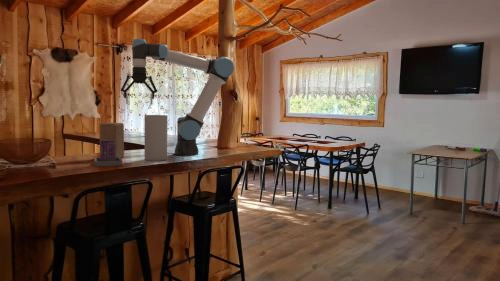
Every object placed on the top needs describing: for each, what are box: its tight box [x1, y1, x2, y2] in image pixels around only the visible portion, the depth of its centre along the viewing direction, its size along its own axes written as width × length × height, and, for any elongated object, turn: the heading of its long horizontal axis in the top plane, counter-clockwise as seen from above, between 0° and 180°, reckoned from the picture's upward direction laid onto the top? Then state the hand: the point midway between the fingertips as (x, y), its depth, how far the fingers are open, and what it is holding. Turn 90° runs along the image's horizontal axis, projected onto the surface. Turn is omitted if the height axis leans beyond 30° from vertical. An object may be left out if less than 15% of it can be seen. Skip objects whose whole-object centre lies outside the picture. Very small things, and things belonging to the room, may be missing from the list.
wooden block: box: [99, 122, 125, 159], centre depth 227 cm, size 10×10×20 cm
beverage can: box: [101, 139, 115, 161], centre depth 207 cm, size 7×7×12 cm
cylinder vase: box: [144, 114, 168, 162], centre depth 226 cm, size 12×12×25 cm
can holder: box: [93, 157, 123, 168], centre depth 207 cm, size 13×13×2 cm
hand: (139, 104), depth 231 cm, fingers open, 13 cm apart
